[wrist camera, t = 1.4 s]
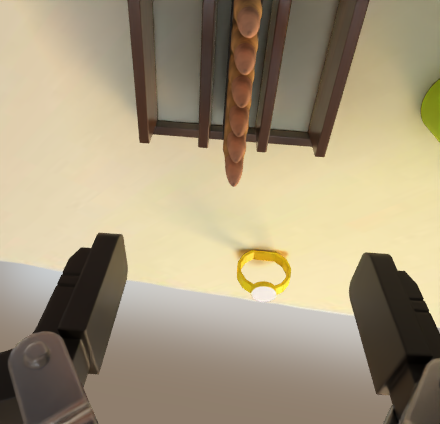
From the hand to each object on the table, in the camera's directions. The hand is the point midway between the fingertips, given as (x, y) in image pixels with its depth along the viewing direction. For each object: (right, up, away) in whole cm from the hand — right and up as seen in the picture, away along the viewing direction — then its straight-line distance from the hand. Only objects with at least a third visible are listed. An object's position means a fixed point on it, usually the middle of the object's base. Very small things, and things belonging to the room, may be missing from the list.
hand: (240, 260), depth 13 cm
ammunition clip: (+1, +14, +17) cm, 22 cm away
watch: (+4, -3, +32) cm, 32 cm away
